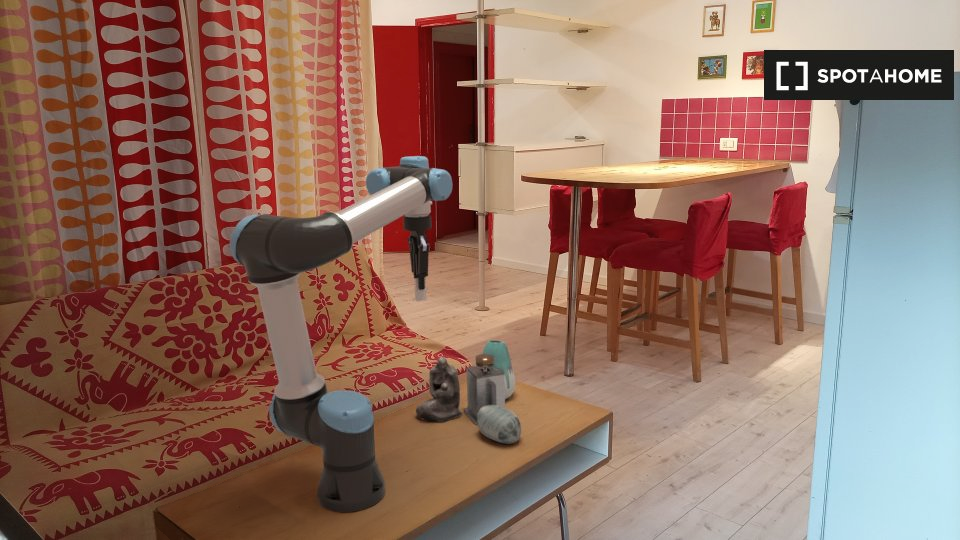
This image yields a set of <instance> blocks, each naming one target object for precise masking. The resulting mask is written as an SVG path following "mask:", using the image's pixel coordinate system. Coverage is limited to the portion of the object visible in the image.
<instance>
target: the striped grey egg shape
mask: <svg viewBox="0 0 960 540" xmlns="http://www.w3.org/2000/svg"><path fill="white" fill-rule="evenodd" d="M477 423H478V425H477V427H478V430H479V432H480V433H481V434H482V435H483V436H485V437H486V438H488V439H490V440H492V441H496V442H497V443H501V444H506V445H507V444H508V445H509V444H516V443H517V442H518V441H519V439H520V437H521V434H522V427H521V421H520V419H519V417H518V416H517V415H516V413H515V412H513V411H512V410H511V409H508V408H507V407H505V408H504V407H502V406H497V405H487V406H484V407H482V408H481V409H480V410H479V412H478V416H477Z"/></svg>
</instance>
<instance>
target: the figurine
mask: <svg viewBox="0 0 960 540" xmlns="http://www.w3.org/2000/svg"><path fill="white" fill-rule="evenodd" d="M428 374H429V376H428V377H429V379H428V380H429V381H428V382H429V394H430V396H431V398H427V399H426V400H423V401H422V402H420V403H419V404H418V405H417V406H416V408H415V413H416V416H417V418H418V419H420V420H423V421H425V422H429V423H431V422H432V423H433V422H434V423H444V422H447V421H449V420H453V419H456V418H459V417H460V416H461V415H463V411H462V410H461V409H459V408H460V404H461V403H460V402H461V389H460V387H461V385H460V380H459V376H458V375H459V373H458V369H456V367H455V366H453V365H451V364H449V363H448V361H447V358H446V357H444V356H440V357H438V359H437V361H435V364H434V365H433V366H432V367H431V368H430V370H429V373H428Z"/></svg>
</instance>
